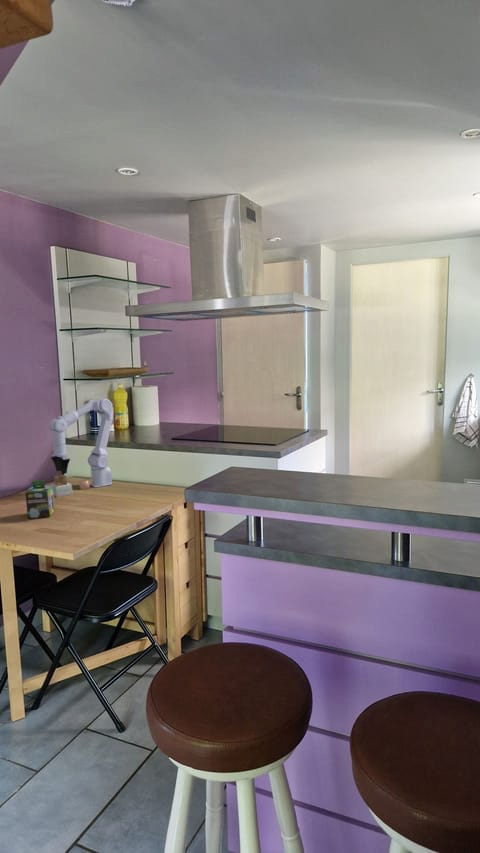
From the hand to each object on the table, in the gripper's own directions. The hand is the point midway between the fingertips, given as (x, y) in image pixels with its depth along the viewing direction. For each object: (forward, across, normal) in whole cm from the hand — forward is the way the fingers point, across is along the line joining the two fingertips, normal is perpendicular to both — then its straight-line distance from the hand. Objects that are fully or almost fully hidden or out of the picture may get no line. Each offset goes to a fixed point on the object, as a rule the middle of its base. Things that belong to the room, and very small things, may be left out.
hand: (61, 472), depth 259 cm
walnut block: (+5, +2, -2) cm, 6 cm away
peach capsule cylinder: (+10, -2, +11) cm, 16 cm away
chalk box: (+10, +30, -19) cm, 37 cm away
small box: (+11, +2, -1) cm, 11 cm away
